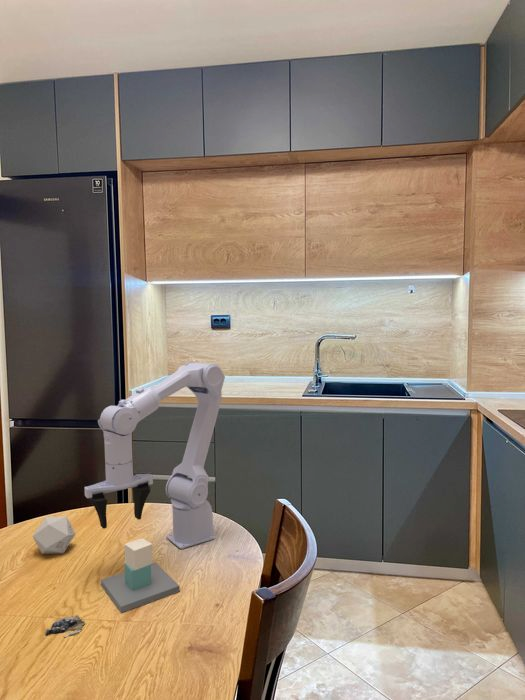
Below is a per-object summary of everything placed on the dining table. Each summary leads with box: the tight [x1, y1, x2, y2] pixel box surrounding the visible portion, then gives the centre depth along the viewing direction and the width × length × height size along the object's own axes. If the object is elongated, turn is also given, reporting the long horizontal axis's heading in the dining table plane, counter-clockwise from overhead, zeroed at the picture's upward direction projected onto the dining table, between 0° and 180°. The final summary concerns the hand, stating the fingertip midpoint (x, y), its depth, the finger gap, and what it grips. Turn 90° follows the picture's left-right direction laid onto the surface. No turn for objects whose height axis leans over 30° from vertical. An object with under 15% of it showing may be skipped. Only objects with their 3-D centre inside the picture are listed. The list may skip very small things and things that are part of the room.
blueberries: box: [44, 615, 86, 638], centre depth 87 cm, size 7×8×2 cm
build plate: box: [100, 561, 181, 614], centre depth 100 cm, size 12×12×1 cm
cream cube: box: [124, 537, 154, 570], centre depth 100 cm, size 4×4×4 cm
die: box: [32, 516, 76, 555], centre depth 117 cm, size 8×9×10 cm
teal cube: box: [124, 562, 151, 591], centre depth 100 cm, size 4×4×4 cm
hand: (121, 522), depth 108 cm, fingers open, 7 cm apart
